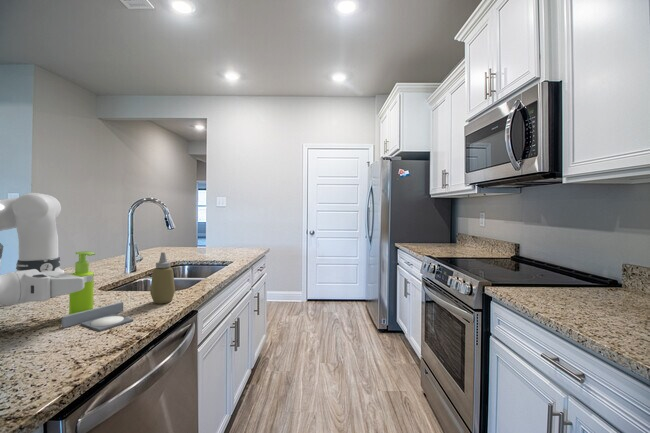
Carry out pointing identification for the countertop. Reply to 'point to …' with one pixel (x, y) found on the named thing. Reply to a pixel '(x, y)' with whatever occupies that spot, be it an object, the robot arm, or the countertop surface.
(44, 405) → the countertop surface
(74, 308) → the soap dispenser
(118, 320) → the mat
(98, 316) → the acrylic wall
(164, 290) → the squeeze bottle
